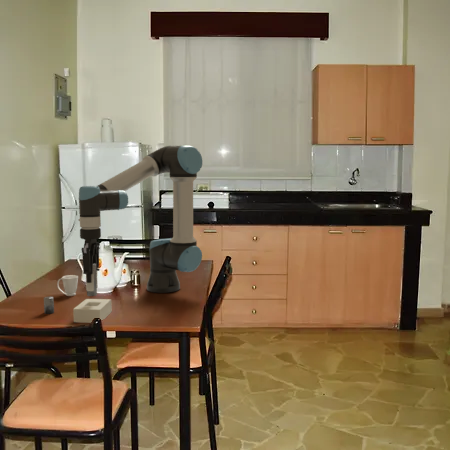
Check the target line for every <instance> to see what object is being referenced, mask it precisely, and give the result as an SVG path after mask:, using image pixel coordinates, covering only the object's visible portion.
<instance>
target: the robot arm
mask: <svg viewBox="0 0 450 450" xmlns="http://www.w3.org/2000/svg"><path fill="white" fill-rule="evenodd" d="M202 166H203V157H202V155H201V152H200V150H198V148H196V147H195V146H192V145H186V144H183V145H166V146H163V147H160V148H158V149H156V150H155V151H152V152H151V153H149V154H147V155H145V156H144V157H143V158H142V160H141V161H139V162H138V163H136V164H134V165H132V166H131V167H129V168H127V169H125V170H124V171H122V172H119V173H118V174H116V175H114V176H112V177H110V178H108V179H107V180H105V181H104V182H102V183H100V184H97V185H83V186H80V187H79V188H78V189H79V190H78V207H79V209H78V210H79V211H78V212H79V213H78V214H79V219H78V221H79V228H80V229H79V238H80V239H81V240H84V245H83V247H81V253H82V255H81V256H82V271H83V273H82V274H83V275H85V286H86V287H85V289H86V292H87V291H94V274H92V273H93V263H96V279H97V280H98V272H99V271H100V244H101V243H100V242H98V239H101V238H102V234H101V233H102V231H101V230H102V229H101V228H100V227H101V226H102V225H101V224H102V223H101V212H104V211H105V212H106V211H116V210H117V211H119V210H124V209H126V208H127V207H128V206H129V196H128V193H127V192H126V191H128V190H130V189H131V188H133V187H135V186H136V185H138V184H139V183H142V182H144V181H145V180H147V179H148V178H150V177H157V176H158V175H161V174H165V173H169V179H171V180H172V186H173V187H172V194H173V195H172V197H173V198H172V203H173V204H172V211H173V212H172V218H173V219H172V220H173V221H172V223H173V224H172V225H173V226H172V228H173V229H172V232H173V233H172V237H170V238H159V239H154V240H151V241H150V243H149V249H148V250H149V267H150V269H149V276H148V280H147V283H146V290H147V291H148V292H150V293H154V294H155V293H157V294H162V293H163V294H164V293H166V294H167V293H174V292H178V291H180V289H181V283H180V280H179V278H178V274H177V271H179V272H181V273H191V272H194V271H195V270H197V269H198V267H199V266H200V264H201V262H202V259H203V252H202V250H201V249H200V247H199V246H197V245H198V243H197V242H198V241H197V239H196V238H195V237H194V181H195V180H196V179H197V174H198V173H199V172H200V170H201V169H202ZM97 289H99V288H98V284H97Z"/></svg>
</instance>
